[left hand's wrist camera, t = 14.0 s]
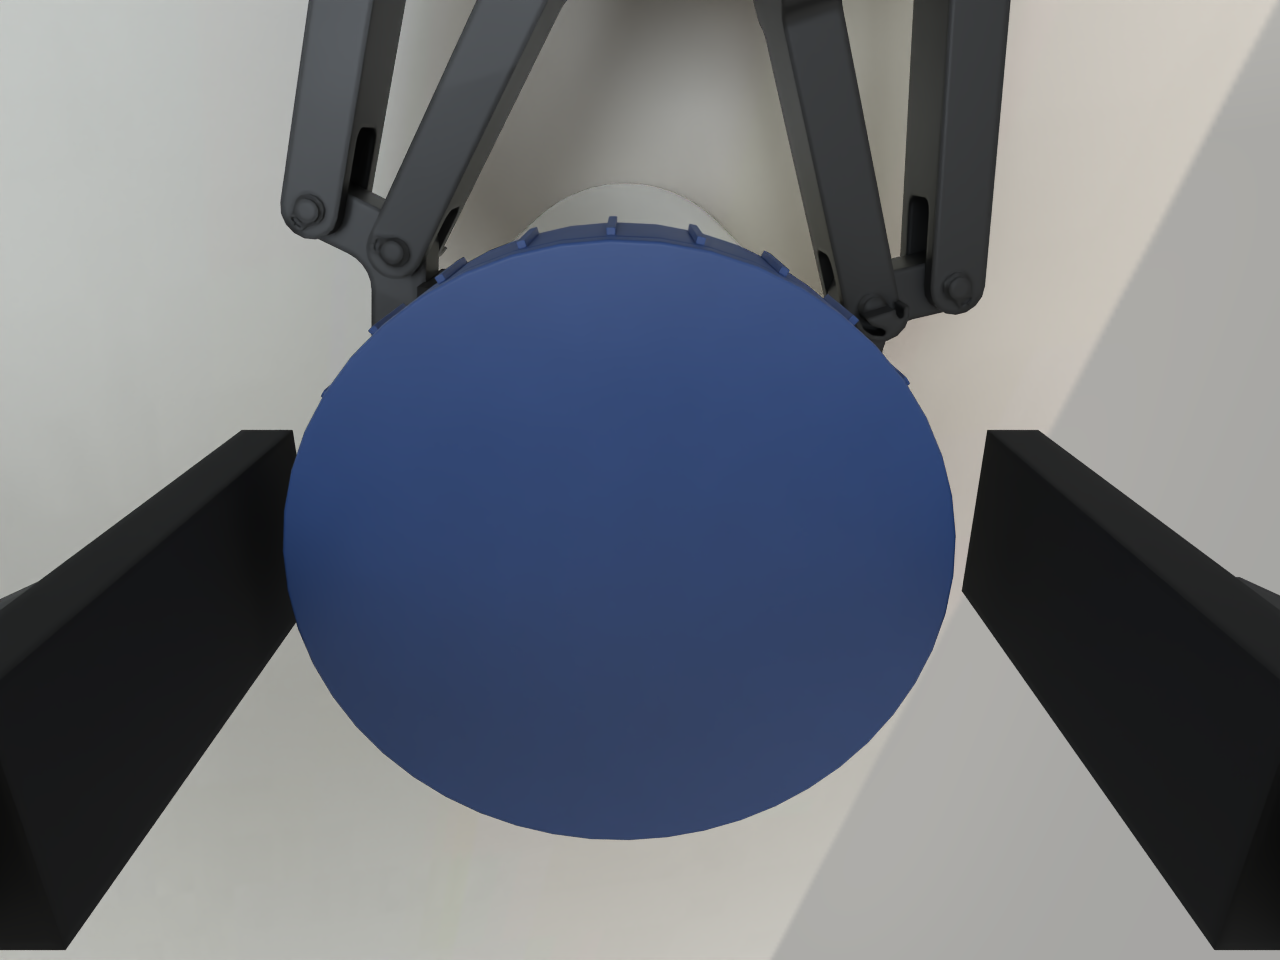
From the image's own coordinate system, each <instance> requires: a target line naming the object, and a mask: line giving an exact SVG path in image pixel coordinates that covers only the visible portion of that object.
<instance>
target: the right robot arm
mask: <svg viewBox="0 0 1280 960" xmlns="http://www.w3.org/2000/svg"><path fill="white" fill-rule="evenodd" d="M566 1H567V0H477V1H476V3H475V6H474V8H473V10H472V12H471V14H470V16H469V19H468V21H467V23H466V25H465V27H464V29H463V32H462V34H461V36H460V38H459V40H458V43H457V45H456V47H455V49H454V51H453V53H452V56H451V58H450V60H449V62H448V64H447V67H446V69H445V71H444V73H443V75H442V77H441V80H440V82H439V84H438V86H437V88H436V90H435V93H434V95H433V97H432V99H431V101H430V104H429V106H428V108H427V110H426V112H425V114H424V117H423V119H422V121H421V123H420V125H419V128H418V130H417V132H416V134H415V136H414V138H413V141H412V143H411V145H410V147H409V149H408V151H407V154H406V156H405V158H404V160H403V162H402V165H401V167H400V169H399V171H398V173H397V175H396V178H395V180H394V182H393V184H392V186H391V188H390V191H389V193H388V195H387V197H386V199H384V198H382V197H380V196H378V195H376V194H374V193H372V188H373V182H374V177H375V171H376V165H377V160H378V154H379V148H380V143H381V137H382V132H383V126H384V120H385V115H386V109H387V104H388V98H389V92H390V87H391V81H392V75H393V70H394V64H395V59H396V53H397V47H398V42H399V36H400V31H401V25H402V19H403V14H404V8H405V2H406V0H309V4H308V11H307V18H306V25H305V32H304V39H303V46H302V53H301V61H300V68H299V75H298V82H297V89H296V96H295V103H294V110H293V117H292V124H291V131H290V138H289V145H288V153H287V160H286V167H285V174H284V181H283V188H282V195H281V214H282V216H283V219H284V221H285V223H286V225H287V226H288V227H289V228H290V229H291V230H292V231H293V232H294V233H295V234H297V235H299V236H301V237H303V238H308V239H320V240H322V241H324V242H326V243H328V244H330V245H332V246H334V247H336V248H338V249H340V250H342V251H344V252H347V253H348V254H350V255H352V256H353V257H355V258H356V259H357V260H358V261H359V262H360V263H361V264H362V265H363V266H364V268H365V269H366V271H367V273H368V275H369V278H370V281H371V288H372V326H373V325H374V324H376V323H377V322H378V321H380V320H381V319H382V318H384V317H385V316H386V315H388V314H389V313H390V312H392V311H393V310H394V309H396V308H397V307H398V306H400V305H401V304H402V303H404V304H405V305H406V306H407V305H409V304H410V303H411V302H413V301H414V300H415V299H416V298H418V297H419V296H420V295H422V294H423V293H424V292H426V291H427V290H428V289H430V288H431V287H432V286H434V285H435V284H436V283H437V281H436V279H435V277H436V276H437V275H439V274H440V273H441V272H443V271H444V270H445V269H441V270H440V271H438V265H439V257H440V256H441V255H442V254H443V253H444V252H445V250H446V249H447V248H446V247H445V246H444V245H445V243H446V241H447V239H448V237H449V235H450V233H451V231H452V229H453V227H454V225H455V223H456V221H457V219H458V217H459V215H460V213H461V211H462V209H463V207H464V205H465V203H466V201H467V199H468V197H469V194H470V192H471V190H472V188H473V186H474V184H475V182H476V180H477V178H478V176H479V174H480V172H481V170H482V168H483V166H484V164H485V162H486V160H487V158H488V156H489V154H490V152H491V150H492V148H493V146H494V144H495V142H496V140H497V138H498V136H499V134H500V132H501V129H502V127H503V125H504V123H505V121H506V119H507V117H508V115H509V113H510V111H511V109H512V107H513V105H514V103H515V101H516V99H517V97H518V95H519V93H520V91H521V89H522V87H523V85H524V83H525V81H526V79H527V77H528V75H529V73H530V71H531V69H532V66H533V64H534V62H535V60H536V58H537V56H538V54H539V52H540V50H541V48H542V46H543V44H544V42H545V40H546V38H547V36H548V34H549V32H550V30H551V28H552V26H553V24H554V22H555V20H556V18H557V16H558V14H559V12H560V10H561V8H562V6H563V5H564V3H565V2H566ZM753 1H754V6H755V10H756V14H757V17H758V20H759V23H760V26H761V28H762V30H763V32H764V35H765V38H766V42H767V47H768V51H769V55H770V60H771V64H772V69H773V73H774V77H775V82H776V86H777V91H778V95H779V100H780V104H781V108H782V113H783V117H784V122H785V126H786V130H787V135H788V139H789V144H790V148H791V153H792V157H793V161H794V166H795V170H796V175H797V179H798V183H799V188H800V192H801V197H802V201H803V206H804V210H805V214H806V219H807V223H808V228H809V232H810V236H811V241H812V245H813V250H814V254H815V259H816V263H817V267H818V272H819V276H820V281H821V285H822V289H823V294H824V297H825V296H826V295H827V294H828V295H830V296H831V297H832V298H833V299H834V300H836V301H837V302H838V303H839V304H841V305H842V306H843V307H844V308H846V309H847V310H848V311H849V312H850V313H852V314H853V315H854V316H855V317H856V318H857V319H858V320H859V321H858V322H857V323H856V324H855V325H854V326H855V327H856V328H857V329H858V330H859V331H860V332H862V333H863V334H864V335H865V336H866V337H867V338H868V339H869V340H870V341H871V342H873V343H874V344H875V345H876V346H877V348H878V349H879V350H880V351H881V352H882V351H883V347H884V344H885V342H886V341H888V340H889V339H891V338H893V337H895V336H897V335H898V334H899V333H900V332H901V331H902V330H903V329H904V328H905V326H906V324H907V321H909V320H911V319H915V318H920V317H924V316H928V315H932V314H937V313H941V312H944V313H947V314H954V315H957V314H961V313H964V312H967V311H968V310H970V309H971V308H973V307H974V306H975V305H976V304H977V303H978V301H979V300H980V299H981V297H982V295H983V291H984V288H985V279H986V268H987V257H988V246H989V235H990V224H991V212H992V201H993V190H994V179H995V168H996V157H997V145H998V134H999V123H1000V112H1001V101H1002V90H1003V78H1004V67H1005V56H1006V45H1007V34H1008V23H1009V12H1010V0H914V5H913V24H912V43H911V62H910V81H909V100H908V119H907V138H906V157H905V176H904V195H903V214H902V233H901V252H900V257H896V258H892V259H891V255H890V249H889V244H888V239H887V234H886V229H885V224H884V219H883V213H882V208H881V203H880V198H879V193H878V188H877V182H876V177H875V172H874V167H873V162H872V157H871V152H870V146H869V141H868V136H867V131H866V126H865V121H864V115H863V110H862V105H861V100H860V95H859V90H858V85H857V79H856V74H855V69H854V64H853V59H852V54H851V48H850V43H849V38H848V33H847V28H846V23H845V18H844V12H843V6H842V0H753Z"/></svg>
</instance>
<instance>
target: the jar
mask: <svg viewBox="0 0 1280 960" xmlns="http://www.w3.org/2000/svg"><path fill="white" fill-rule="evenodd" d="M609 216H617V222H622V223H643V224H658V225H664V226H669V227H674V228H680V229H685V230H688V227H689V224H693V225H697V226H698V228H699V229H700V230H701V232H702V233H703V234H706V235H709V236H712V237H715V238H718V239H721V240H724V241H727V242H730V243H733V244H736V245H739V246H741V245H740V244H739V243H738V242H737V241H736V240H735V239H734V238H733V237H732V236H731V235H730V234H729V233H728V232H727V231H726V230H725V229H724V228H723V227H722V226H721V225H720V224H719V223H718V222H717V221H716V220H715V219H714V218H713V217H712V216H711V215H709V214H708V213H707V212H706V211H705V210H703V209H702V208H701V207H699V206H698V205H696V204H695V203H693V202H692V201H690V200H688V199H686V198H684V197H682V196H680V195H678V194H676V193H674V192H671V191H668V190H665V189H662V188H659V187H654V186H649V185H644V184H632V183H618V184H607V185H601V186H597V187H593V188H588V189H586V190H583V191H580V192H578V193H575V194H573V195H570V196H568V197H567V198H565V199H563V200H561V201H559V202H558V203H556V204H554V205H553V206H552V207H550V208H549V209H548V210H546V211H545V212H544V213H542V214H541V215H540V216H539V217H538V218H537V219H536V220H535V221H534V222H532V223H531V224H530V225H529V226H528V227H527V228H526V229H525V230H524V231H523V232H522V233H521V234H519V235H518V236H517V237H516V238H515V239H514V240H513V241H516V240H519V239H520V238H521V237H522V236H523V235H524V234H525V233H526V232H527V231H528V230H529V229H531V228H535V227H537V228H538V231H539V233H542V232H546V231H551V230H555V229H559V228H564V227H568V226H575V225H586V224H598V223H608V219H609ZM513 241H512V242H513ZM741 247H742V246H741Z"/></svg>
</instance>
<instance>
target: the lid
mask: <svg viewBox="0 0 1280 960" xmlns="http://www.w3.org/2000/svg"><path fill="white" fill-rule="evenodd" d="M435 279H436V281H437V283H436V284H435V285H434V286H432V287H431V288H430V289H428V290H427V291H426V292H424V293H423V294H422V295H420V296H419V297H418V298H416V299H415V300H414V301H413V302H411V303H410V304H409V305H407V306H406V305H405V304H404V303H402V304H401V305H400V306H398V307H397V308H396V309H394V310H393V311H392V312H390V313H389V314H388V315H386V316H385V317H384V318H382V319H381V320H380V321H378V322H377V323H376V324H374V325H373V326H372V327H371V328H370V329H369V330H368V331H369V332H370V333H371V334H372V336H371V337H370V338H369V339H368V340H367V341H366V342H365V343H364V344H363V345H362V346H361V347H360V348H359V349H358V350H357V351H356V352H355V353H354V354H353V355H352V356H351V358H350V359H349V360H348V362H347V363H346V364H345V366H344V367H343V369H342V370H341V371H340V373H339V374H338V375H337V377H336V378H335V379H334V381H333V382H332V384H331V385H330V386H329V387H327V388H326V389H325V390H324V391H323V393H322V395H321V397H322V399H321V401H320V403H319V405H318V407H317V409H316V411H315V412H314V414H313V416H312V418H311V420H310V422H309V424H308V426H307V428H306V430H305V432H304V435H303V438H302V441H301V444H300V447H299V450H298V452H297V455H296V458H295V461H294V464H293V467H292V470H291V475H290V481H289V486H288V492H287V497H286V503H285V508H284V532H283V555H284V563H285V572H286V580H287V588H288V593H289V597H290V601H291V604H292V608H293V612H294V616H295V619H296V623H297V627H298V630H299V632H300V634H301V637H302V639H303V641H304V644H305V646H306V648H307V651H308V653H309V655H310V658H311V660H312V662H313V664H314V666H315V668H316V669H317V671H318V673H319V674H320V676H321V678H322V680H323V681H324V683H325V685H326V686H327V688H328V690H329V691H330V693H331V695H332V696H333V698H334V699H335V700H336V701H337V703H338V704H339V705H340V707H341V708H342V709H343V710H344V712H345V713H346V714H347V715H348V717H349V718H350V719H351V720H352V722H353V723H354V724H355V726H356V727H357V728H358V729H359V730H360V731H361V732H362V733H363V734H364V735H365V736H366V737H367V738H368V739H369V740H370V741H371V742H372V743H373V744H374V745H375V746H376V747H377V748H378V749H379V750H380V751H381V752H382V753H383V754H385V755H386V756H387V757H389V758H390V759H391V760H392V761H394V762H395V763H396V764H398V765H399V766H400V767H401V768H403V769H404V770H405V771H407V772H408V773H409V774H410V775H412V776H413V777H414V778H416V779H418V780H419V781H421V782H423V783H424V784H426V785H428V786H429V787H431V788H432V789H434V790H436V791H437V792H439V793H441V794H442V795H444V796H445V797H448V798H450V799H452V800H454V801H456V802H458V803H460V804H462V805H464V806H467V807H469V808H471V809H473V810H475V811H477V812H479V813H482V814H485V815H488V816H491V817H493V818H496V819H499V820H502V821H505V822H508V823H511V824H514V825H517V826H521V827H525V828H529V829H534V830H538V831H542V832H547V833H551V834H557V835H564V836H572V837H580V838H588V839H612V840H635V839H649V838H662V837H671V836H676V835H682V834H687V833H693V832H699V831H704V830H708V829H711V828H715V827H718V826H722V825H725V824H729V823H732V822H736V821H739V820H742V819H745V818H747V817H750V816H752V815H755V814H757V813H760V812H762V811H765V810H767V809H770V808H772V807H774V806H777V805H779V804H780V803H782V802H784V801H786V800H788V799H790V798H792V797H793V796H795V795H797V794H799V793H801V792H803V791H805V790H807V789H808V788H810V787H811V786H813V785H814V784H816V783H817V782H819V781H820V780H822V779H823V778H825V777H826V776H828V775H829V774H830V773H832V772H833V771H835V770H836V769H838V768H839V767H840V766H842V765H843V764H844V763H845V762H846V761H847V760H849V759H850V758H851V757H852V756H853V755H854V754H855V753H857V752H858V751H859V750H860V749H861V748H862V747H863V746H865V745H866V744H867V743H868V742H869V741H870V740H871V739H872V738H873V737H874V735H875V734H876V733H877V732H878V731H879V730H880V729H881V728H882V727H883V725H884V724H885V723H886V722H887V721H888V720H889V719H890V718H891V717H892V715H893V714H894V713H895V712H896V710H897V709H898V707H899V706H900V704H901V703H902V701H903V700H904V699H905V697H906V696H907V694H908V693H909V691H910V690H911V689H912V687H913V686H914V684H915V683H916V681H917V679H918V677H919V675H920V673H921V671H922V669H923V667H924V665H925V663H926V661H927V660H928V658H929V656H930V654H931V652H932V650H933V647H934V644H935V642H936V639H937V636H938V633H939V630H940V628H941V625H942V622H943V619H944V616H945V613H946V609H947V604H948V599H949V594H950V589H951V584H952V579H953V572H954V555H955V538H956V535H955V523H954V512H953V501H952V494H951V490H950V486H949V481H948V477H947V473H946V469H945V465H944V461H943V457H942V454H941V452H940V449H939V447H938V444H937V442H936V440H935V437H934V435H933V432H932V430H931V427H930V425H929V422H928V420H927V418H926V416H925V414H924V412H923V411H922V409H921V407H920V406H919V404H918V402H917V401H916V399H915V397H914V396H913V394H912V392H911V391H910V389H909V387H908V386H907V385H909V384H910V383H909V381H908V379H907V378H906V377H905V376H904V375H903V374H902V373H901V372H900V371H898V370H897V369H896V368H895V367H894V366H893V365H892V364H891V363H890V362H889V361H888V360H887V359H886V357H885V356H884V355H883V354H882V352H881V351H880V350H879V349H878V348H877V346H876V345H875V344H874V343H873V342H871V341H870V340H869V339H868V338H867V337H866V336H865V335H864V334H863V333H862V332H860V331H859V330H858V329H857V328H856V327H855V326H854V325H855V324H856V323H857V322H858V321H859V320H858V319H857V318H856V317H855V316H854V315H853V314H852V313H850V312H849V311H848V310H847V309H846V308H844V307H843V306H842V305H841V304H839V303H838V302H837V301H836V300H834V299H833V298H832V297H831V296H830V295H828V294H827V295H826V296H825V297H824V298H822V297H821V296H820V295H818V294H817V293H816V292H815V291H814V290H813V289H811V288H810V287H809V286H808V285H806V284H805V283H803V282H802V281H800V280H799V279H797V278H796V277H794V276H793V275H792V274H790V273H789V269H788V268H787V267H785V266H784V265H783V264H782V263H781V262H780V261H778V260H777V259H776V258H775V257H774V256H773V255H771V254H770V253H768V252H766V251H764V252H763V254H762V255H761V256H759V255H757V254H755V253H753V252H751V251H749V250H747V249H745V248H743V247H741V246H739V245H736V244H733V243H730V242H727V241H724V240H721V239H718V238H715V237H712V236H709V235H706V234H703V233H702V232H701V230H700V229H699V228H698V226H697V225H693V224H689V227H688V230H685V229H680V228H674V227H669V226H664V225H658V224H643V223H622V222H617V216H609V219H608V223H598V224H586V225H575V226H568V227H564V228H559V229H555V230H551V231H546V232H542V233H539V231H538V228H537V227H535V228H531V229H529V230H528V231H527V232H526V233H525V234H524V235H523V236H522V237H521V238H520V239H519V240H516V241H513V242H511V243H508V244H505V245H503V246H500V247H498V248H495V249H492V250H490V251H488V252H486V253H484V254H482V255H481V256H479V257H477V258H475V259H473V260H472V261H470V262H468V263H467V261H466V259H465V258H464V257H463V258H461V259H459V260H458V261H456V262H455V263H454V264H452V265H451V266H450V267H448V268H447V269H445V270H444V271H443V272H441V273H440V274H439V275H437V276H436V277H435Z"/></svg>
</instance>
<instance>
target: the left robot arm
mask: <svg viewBox="0 0 1280 960" xmlns="http://www.w3.org/2000/svg"><path fill="white" fill-rule="evenodd" d="M295 458H296V448H295V442H294V436H293V430H241V431H240V432H239V433H237V434H236V435H235V436H233V437H232V438H231V439H229V440H228V441H226V442H225V443H224V444H222V445H221V446H220V447H218V448H217V449H216V450H214V451H213V452H212V453H210V454H209V455H208V456H206V457H205V458H204V459H202V460H201V461H200V462H198V463H197V464H196V465H194V466H193V467H192V468H190V469H189V470H188V471H186V472H185V473H184V474H182V475H181V476H179V477H178V478H177V479H175V480H174V481H173V482H171V483H170V484H169V485H167V486H166V487H165V488H163V489H162V490H161V491H159V492H158V493H157V494H155V495H154V496H153V497H151V498H150V499H149V500H147V501H146V502H145V503H143V504H142V505H141V506H139V507H138V508H137V509H135V510H134V511H132V512H131V513H130V514H128V515H127V516H126V517H124V518H123V519H122V520H120V521H119V522H118V523H116V524H115V525H114V526H112V527H111V528H110V529H108V530H107V531H106V532H104V533H103V534H102V535H100V536H99V537H98V538H96V539H95V540H94V541H92V542H91V543H90V544H88V545H87V546H85V547H84V548H83V549H81V550H80V551H79V552H77V553H76V554H75V555H73V556H72V557H71V558H69V559H68V560H67V561H65V562H64V563H63V564H61V565H60V566H59V567H57V568H56V569H55V570H53V571H52V572H51V573H49V574H48V575H47V576H45V577H44V578H42V579H41V580H40V581H38V582H36V583H34V584H32V585H30V586H28V587H26V588H23V589H21V590H19V591H17V592H15V593H13V594H10V595H8V596H6V597H4V598H2V599H0V950H66V949H67V947H68V946H69V944H70V943H71V941H72V940H73V939H74V937H75V936H76V934H77V933H78V932H79V930H80V929H81V927H82V926H83V924H84V923H85V922H86V920H87V919H88V917H89V916H90V914H91V913H92V912H93V910H94V909H95V907H96V906H97V905H98V903H99V902H100V900H101V899H102V897H103V896H104V895H105V893H106V892H107V890H108V889H109V887H110V886H111V885H112V883H113V882H114V880H115V879H116V878H117V876H118V875H119V873H120V872H121V870H122V869H123V868H124V866H125V865H126V863H127V862H128V860H129V859H130V858H131V856H132V855H133V853H134V852H135V851H136V849H137V848H138V846H139V845H140V843H141V842H142V841H143V839H144V838H145V836H146V835H147V833H148V832H149V831H150V829H151V828H152V826H153V825H154V824H155V822H156V821H157V819H158V818H159V816H160V815H161V814H162V812H163V811H164V809H165V808H166V806H167V805H168V804H169V802H170V801H171V799H172V798H173V797H174V795H175V794H176V792H177V791H178V789H179V788H180V787H181V785H182V784H183V782H184V781H185V779H186V778H187V777H188V775H189V774H190V772H191V771H192V770H193V768H194V767H195V765H196V764H197V762H198V761H199V760H200V758H201V757H202V755H203V754H204V752H205V751H206V750H207V748H208V747H209V745H210V744H211V743H212V741H213V740H214V738H215V737H216V735H217V734H218V733H219V731H220V730H221V728H222V727H223V725H224V724H225V723H226V721H227V720H228V718H229V717H230V716H231V714H232V713H233V711H234V710H235V708H236V707H237V706H238V704H239V703H240V701H241V700H242V698H243V697H244V696H245V694H246V693H247V691H248V690H249V689H250V687H251V686H252V684H253V683H254V681H255V680H256V679H257V677H258V676H259V674H260V673H261V671H262V670H263V669H264V667H265V666H266V664H267V663H268V662H269V660H270V659H271V657H272V656H273V654H274V653H275V652H276V650H277V649H278V647H279V646H280V644H281V643H282V642H283V640H284V639H285V637H286V636H287V635H288V633H289V632H290V630H291V629H292V627H293V626H294V625H295V623H296V619H295V616H294V612H293V608H292V604H291V601H290V597H289V593H288V588H287V580H286V572H285V563H284V555H283V532H284V508H285V503H286V497H287V492H288V486H289V481H290V475H291V470H292V467H293V464H294V461H295ZM962 592H963V593H964V595H965V596H966V598H967V599H968V600H969V602H970V603H971V605H972V606H973V608H974V609H975V610H976V612H977V613H978V615H979V616H980V617H981V619H982V620H983V622H984V623H985V625H986V626H987V627H988V629H989V630H990V632H991V633H992V634H993V636H994V637H995V639H996V640H997V642H998V643H999V644H1000V646H1001V647H1002V649H1003V650H1004V652H1005V653H1006V654H1007V656H1008V657H1009V659H1010V660H1011V662H1012V663H1013V664H1014V666H1015V667H1016V669H1017V670H1018V671H1019V673H1020V674H1021V676H1022V677H1023V679H1024V680H1025V681H1026V683H1027V684H1028V686H1029V687H1030V689H1031V690H1032V691H1033V693H1034V694H1035V696H1036V697H1037V698H1038V700H1039V701H1040V703H1041V704H1042V706H1043V707H1044V708H1045V710H1046V711H1047V713H1048V714H1049V716H1050V717H1051V718H1052V720H1053V721H1054V723H1055V724H1056V725H1057V727H1058V728H1059V730H1060V731H1061V733H1062V734H1063V735H1064V737H1065V738H1066V740H1067V741H1068V742H1069V744H1070V745H1071V747H1072V748H1073V750H1074V751H1075V752H1076V754H1077V755H1078V757H1079V758H1080V760H1081V761H1082V762H1083V764H1084V765H1085V767H1086V768H1087V769H1088V771H1089V772H1090V774H1091V775H1092V777H1093V778H1094V779H1095V781H1096V782H1097V784H1098V785H1099V787H1100V788H1101V789H1102V791H1103V792H1104V794H1105V795H1106V796H1107V798H1108V799H1109V801H1110V802H1111V804H1112V805H1113V806H1114V808H1115V809H1116V811H1117V812H1118V814H1119V815H1120V816H1121V818H1122V819H1123V821H1124V822H1125V823H1126V825H1127V826H1128V828H1129V829H1130V831H1131V832H1132V833H1133V835H1134V836H1135V838H1136V839H1137V841H1138V842H1139V843H1140V845H1141V846H1142V848H1143V849H1144V851H1145V852H1146V853H1147V855H1148V856H1149V858H1150V859H1151V860H1152V862H1153V863H1154V865H1155V866H1156V868H1157V869H1158V870H1159V872H1160V873H1161V875H1162V876H1163V877H1164V879H1165V880H1166V882H1167V883H1168V885H1169V886H1170V887H1171V889H1172V890H1173V892H1174V893H1175V895H1176V896H1177V897H1178V899H1179V900H1180V902H1181V903H1182V905H1183V906H1184V907H1185V909H1186V910H1187V912H1188V913H1189V914H1190V916H1191V917H1192V919H1193V920H1194V921H1195V923H1196V924H1197V926H1198V927H1199V929H1200V930H1201V931H1202V933H1203V934H1204V936H1205V937H1206V939H1207V940H1208V941H1209V943H1210V944H1211V946H1212V947H1213V949H1214V950H1280V595H1278V594H1275V593H1273V592H1271V591H1269V590H1267V589H1264V588H1262V587H1260V586H1258V585H1256V584H1253V583H1251V582H1249V581H1247V580H1245V579H1243V578H1240V577H1235V576H1233V575H1232V574H1231V573H1229V572H1228V571H1227V570H1225V569H1224V568H1223V567H1221V566H1220V565H1219V564H1217V563H1216V562H1215V561H1213V560H1212V559H1211V558H1209V557H1208V556H1207V555H1205V554H1204V553H1203V552H1201V551H1200V550H1199V549H1197V548H1196V547H1194V546H1193V545H1192V544H1190V543H1189V542H1188V541H1186V540H1185V539H1184V538H1182V537H1181V536H1180V535H1178V534H1177V533H1176V532H1174V531H1173V530H1172V529H1170V528H1169V527H1168V526H1166V525H1165V524H1164V523H1162V522H1161V521H1160V520H1158V519H1157V518H1156V517H1154V516H1153V515H1152V514H1150V513H1149V512H1147V511H1146V510H1145V509H1143V508H1142V507H1141V506H1139V505H1138V504H1137V503H1135V502H1134V501H1133V500H1131V499H1130V498H1129V497H1127V496H1126V495H1125V494H1123V493H1122V492H1121V491H1119V490H1118V489H1117V488H1115V487H1114V486H1113V485H1111V484H1110V483H1109V482H1107V481H1106V480H1104V479H1103V478H1102V477H1101V476H1099V475H1098V474H1096V473H1095V472H1094V471H1092V470H1091V469H1090V468H1088V467H1087V466H1086V465H1084V464H1083V463H1082V462H1080V461H1079V460H1078V459H1076V458H1075V457H1074V456H1072V455H1071V454H1070V453H1068V452H1067V451H1066V450H1064V449H1063V448H1062V447H1060V446H1059V445H1058V444H1056V443H1055V442H1054V441H1052V440H1051V439H1049V438H1048V437H1047V436H1045V435H1044V434H1043V433H1041V432H1040V431H1039V430H987V436H986V442H985V448H984V455H983V461H982V467H981V473H980V480H979V486H978V492H977V499H976V505H975V511H974V518H973V524H972V530H971V536H970V543H969V549H968V555H967V562H966V568H965V574H964V581H963V587H962Z"/></svg>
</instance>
